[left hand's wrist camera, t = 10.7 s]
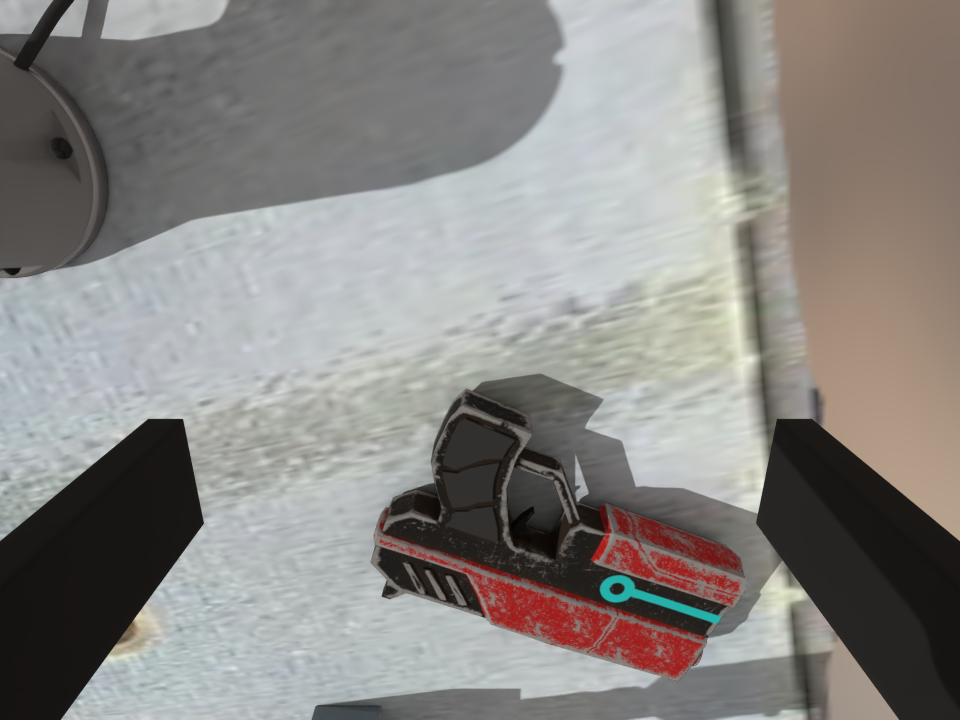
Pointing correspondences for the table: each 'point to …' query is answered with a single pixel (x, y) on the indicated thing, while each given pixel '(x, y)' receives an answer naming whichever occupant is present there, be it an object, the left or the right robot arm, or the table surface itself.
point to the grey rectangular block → (347, 713)
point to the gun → (551, 554)
